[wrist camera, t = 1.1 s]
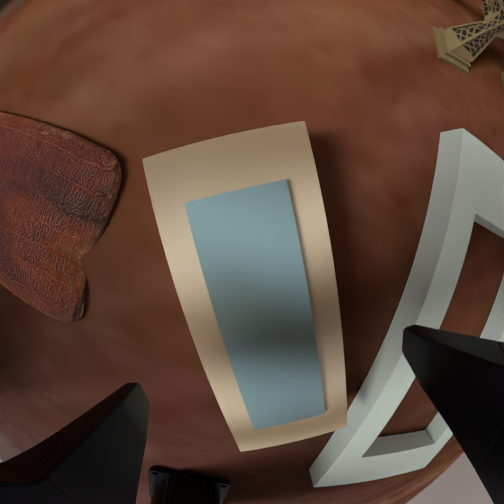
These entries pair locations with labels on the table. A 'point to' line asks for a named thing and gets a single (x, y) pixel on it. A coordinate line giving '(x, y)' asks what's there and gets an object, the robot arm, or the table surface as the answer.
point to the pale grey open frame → (421, 318)
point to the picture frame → (256, 279)
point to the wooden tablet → (51, 212)
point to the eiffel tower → (470, 37)
